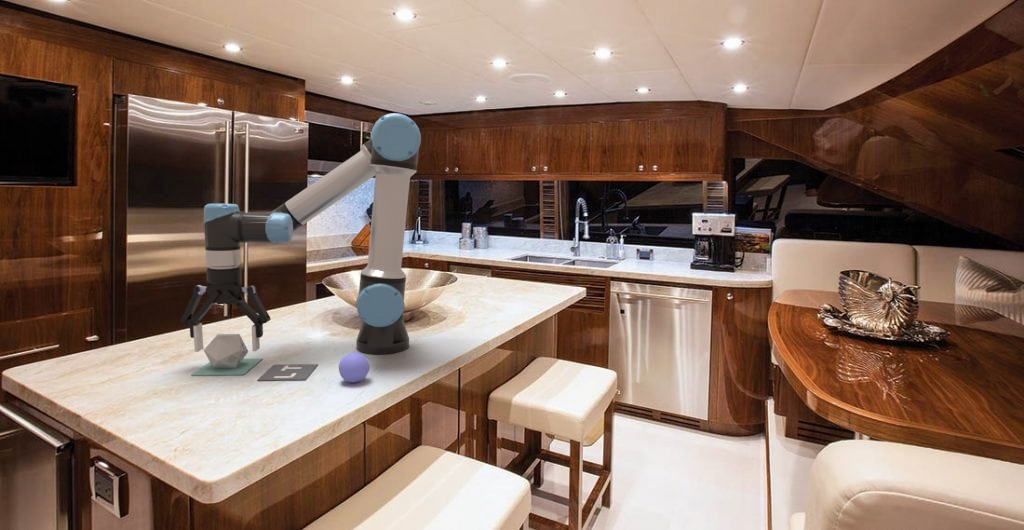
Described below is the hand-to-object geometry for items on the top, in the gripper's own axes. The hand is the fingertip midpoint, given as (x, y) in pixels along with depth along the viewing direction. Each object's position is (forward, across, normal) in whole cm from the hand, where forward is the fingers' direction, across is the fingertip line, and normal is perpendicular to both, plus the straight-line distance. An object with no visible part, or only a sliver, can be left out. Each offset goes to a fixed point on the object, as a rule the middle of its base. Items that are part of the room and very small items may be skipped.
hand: (227, 350), depth 127 cm
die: (+4, 0, 0) cm, 4 cm away
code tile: (+4, -16, +4) cm, 17 cm away
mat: (+4, 0, 0) cm, 4 cm away
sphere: (+5, -33, +11) cm, 35 cm away
